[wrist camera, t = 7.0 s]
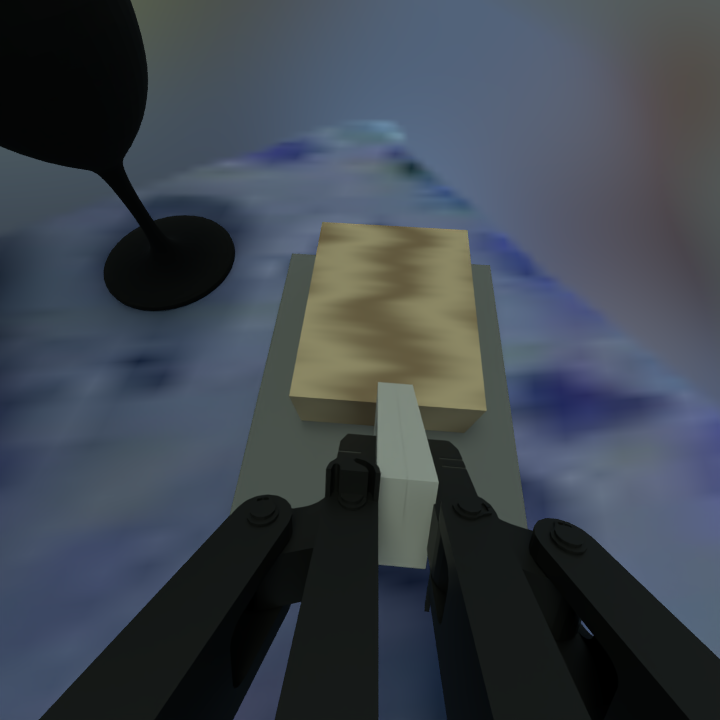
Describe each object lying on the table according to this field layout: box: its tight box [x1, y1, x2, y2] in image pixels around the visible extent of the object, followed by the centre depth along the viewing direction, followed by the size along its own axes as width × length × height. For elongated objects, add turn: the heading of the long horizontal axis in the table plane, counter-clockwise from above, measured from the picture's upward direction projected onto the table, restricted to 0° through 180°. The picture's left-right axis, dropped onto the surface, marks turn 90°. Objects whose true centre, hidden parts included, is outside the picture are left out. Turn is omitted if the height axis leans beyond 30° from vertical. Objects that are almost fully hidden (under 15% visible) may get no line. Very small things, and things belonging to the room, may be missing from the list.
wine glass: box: [0, 0, 235, 311], centre depth 19 cm, size 10×10×20 cm
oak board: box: [289, 222, 487, 433], centre depth 22 cm, size 10×4×13 cm
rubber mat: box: [230, 254, 527, 529], centre depth 22 cm, size 16×20×1 cm
